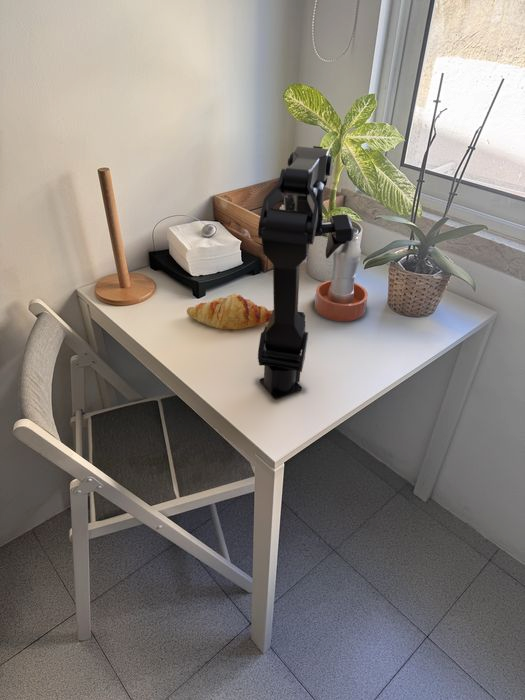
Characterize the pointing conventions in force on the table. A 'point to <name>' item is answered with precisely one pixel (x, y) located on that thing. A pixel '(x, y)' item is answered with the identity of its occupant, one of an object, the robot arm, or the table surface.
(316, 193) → the robot arm
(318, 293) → the bowl
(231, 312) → the croissant
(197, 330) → the table surface
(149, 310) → the table surface
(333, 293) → the plastic bottle
